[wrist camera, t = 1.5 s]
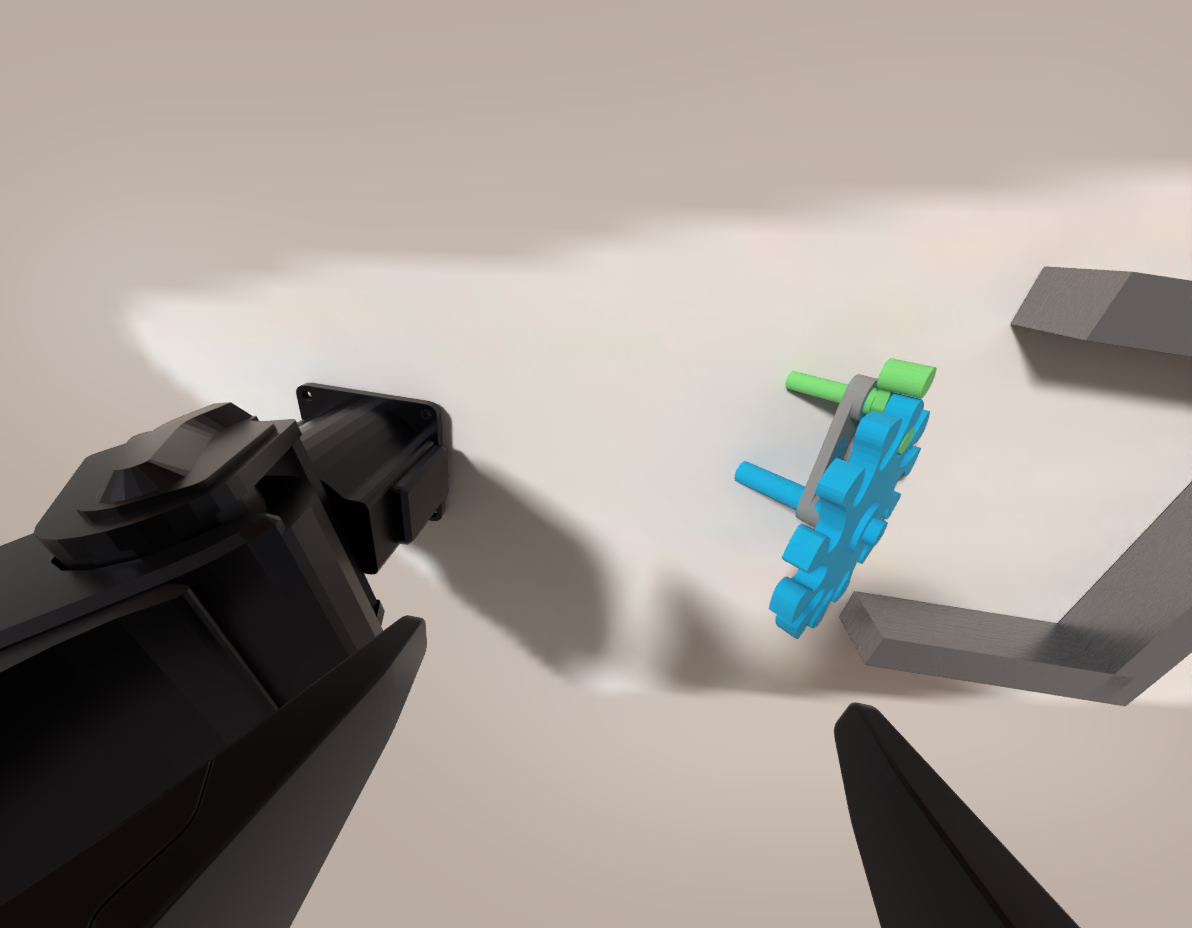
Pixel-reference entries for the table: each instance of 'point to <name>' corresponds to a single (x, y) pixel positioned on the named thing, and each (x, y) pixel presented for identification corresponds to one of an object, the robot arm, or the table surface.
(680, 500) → the table surface
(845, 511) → the gear
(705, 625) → the table surface
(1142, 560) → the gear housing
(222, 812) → the robot arm
